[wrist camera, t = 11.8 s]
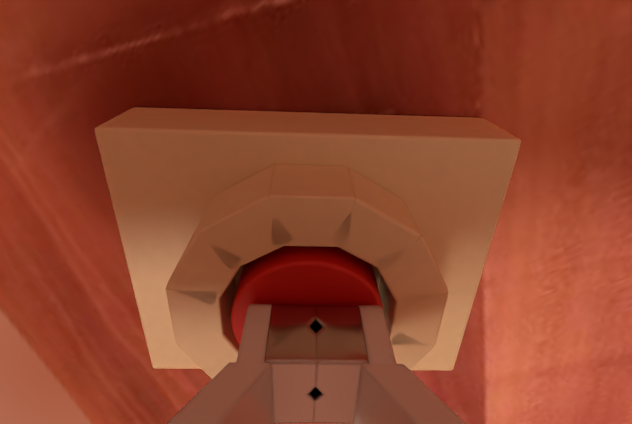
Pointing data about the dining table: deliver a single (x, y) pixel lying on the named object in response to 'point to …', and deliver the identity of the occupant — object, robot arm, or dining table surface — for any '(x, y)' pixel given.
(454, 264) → the button base
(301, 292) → the power button
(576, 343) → the dining table surface
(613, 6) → the dining table surface
